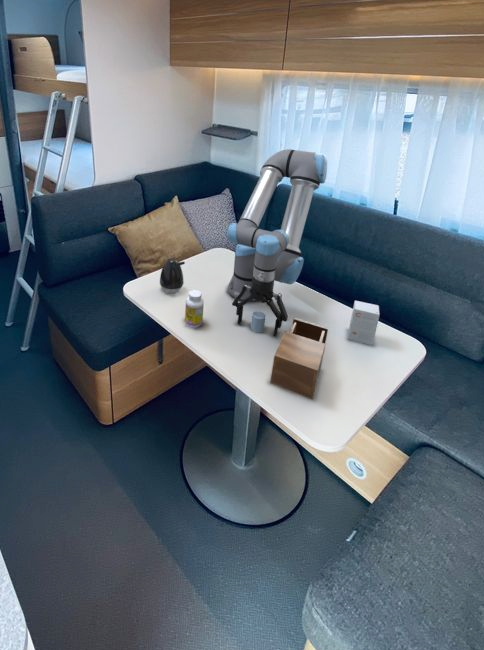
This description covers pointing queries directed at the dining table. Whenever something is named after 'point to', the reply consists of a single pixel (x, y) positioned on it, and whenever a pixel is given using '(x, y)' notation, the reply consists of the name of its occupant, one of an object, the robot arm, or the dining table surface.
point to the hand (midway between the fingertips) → (257, 328)
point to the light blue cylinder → (258, 321)
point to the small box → (363, 322)
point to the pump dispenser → (171, 276)
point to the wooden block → (297, 364)
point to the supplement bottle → (194, 309)
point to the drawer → (309, 330)
